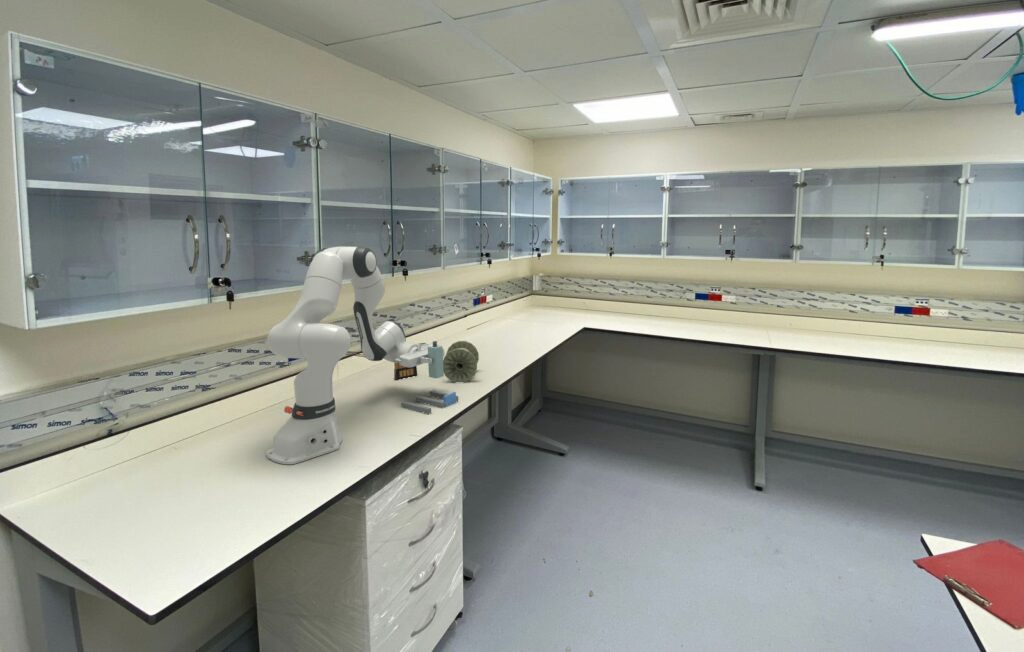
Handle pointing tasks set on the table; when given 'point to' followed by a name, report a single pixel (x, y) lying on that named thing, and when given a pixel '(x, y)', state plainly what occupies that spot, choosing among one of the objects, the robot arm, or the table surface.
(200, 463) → the table surface
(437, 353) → the capped teal pillar
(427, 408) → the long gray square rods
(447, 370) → the spool
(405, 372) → the ammunition clip
